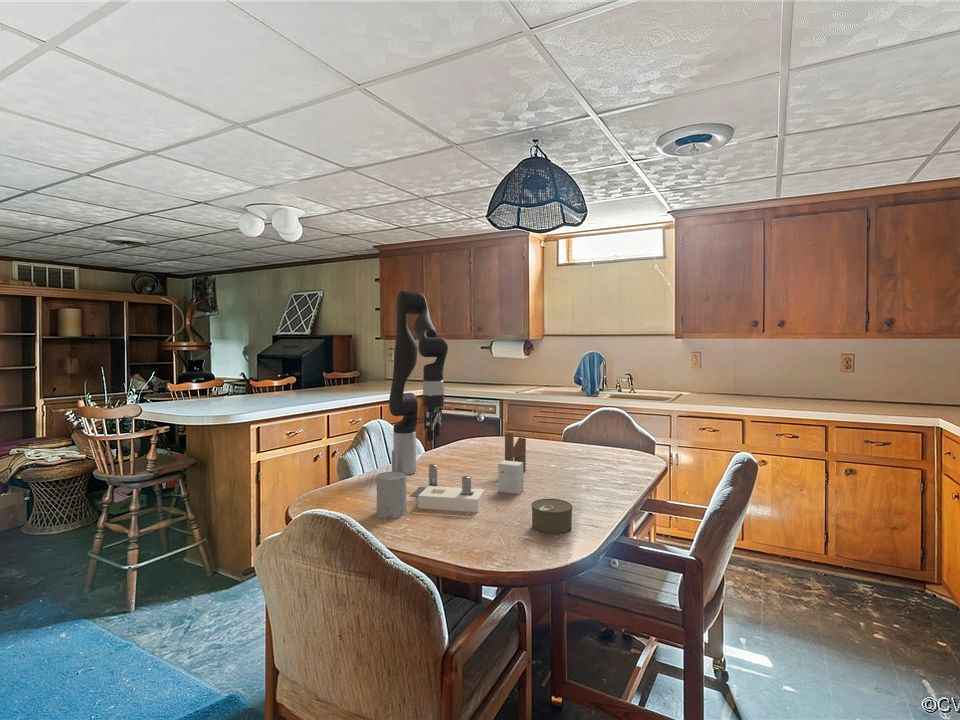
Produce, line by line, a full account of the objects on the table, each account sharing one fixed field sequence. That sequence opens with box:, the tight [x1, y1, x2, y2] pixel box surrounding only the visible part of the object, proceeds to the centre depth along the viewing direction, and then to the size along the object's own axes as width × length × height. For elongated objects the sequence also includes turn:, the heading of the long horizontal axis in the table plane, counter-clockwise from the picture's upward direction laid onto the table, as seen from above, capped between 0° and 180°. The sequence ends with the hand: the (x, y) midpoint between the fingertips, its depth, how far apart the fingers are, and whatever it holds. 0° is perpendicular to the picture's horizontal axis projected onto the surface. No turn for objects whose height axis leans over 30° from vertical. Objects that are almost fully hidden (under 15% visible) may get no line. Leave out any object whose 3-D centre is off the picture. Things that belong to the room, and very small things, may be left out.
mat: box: [408, 486, 428, 498], centre depth 178 cm, size 14×12×1 cm
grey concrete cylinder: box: [375, 471, 408, 520], centre depth 158 cm, size 10×10×12 cm
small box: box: [497, 459, 525, 495], centre depth 181 cm, size 8×6×10 cm
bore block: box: [417, 485, 486, 514], centre depth 165 cm, size 20×11×4 cm, turn 78°
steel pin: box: [428, 463, 438, 486], centre depth 178 cm, size 3×3×10 cm
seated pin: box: [461, 475, 472, 496], centre depth 164 cm, size 3×3×10 cm
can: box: [530, 498, 573, 536], centre depth 146 cm, size 12×12×7 cm
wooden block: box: [504, 430, 527, 473], centre depth 205 cm, size 4×11×18 cm, turn 137°
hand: (433, 438), depth 178 cm, fingers open, 8 cm apart
